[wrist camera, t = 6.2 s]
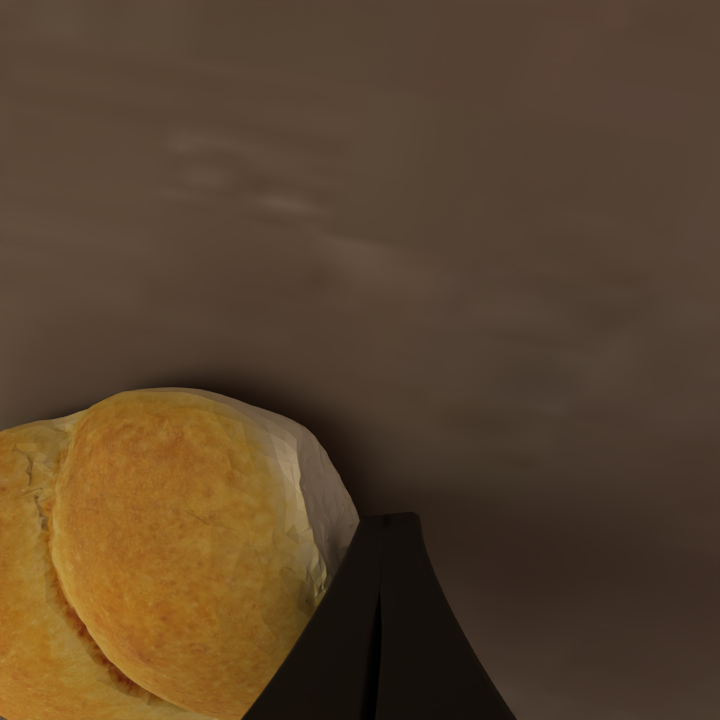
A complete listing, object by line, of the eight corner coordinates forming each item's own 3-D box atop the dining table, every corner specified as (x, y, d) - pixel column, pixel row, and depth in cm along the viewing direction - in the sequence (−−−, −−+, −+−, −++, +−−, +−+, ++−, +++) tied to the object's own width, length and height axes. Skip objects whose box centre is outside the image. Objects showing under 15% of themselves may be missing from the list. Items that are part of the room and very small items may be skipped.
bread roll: (-70, 445, 12) (-282, 579, 8) (281, 323, 10) (213, 425, 6) (113, 683, 15) (16, 863, 11) (414, 620, 13) (419, 810, 9)
